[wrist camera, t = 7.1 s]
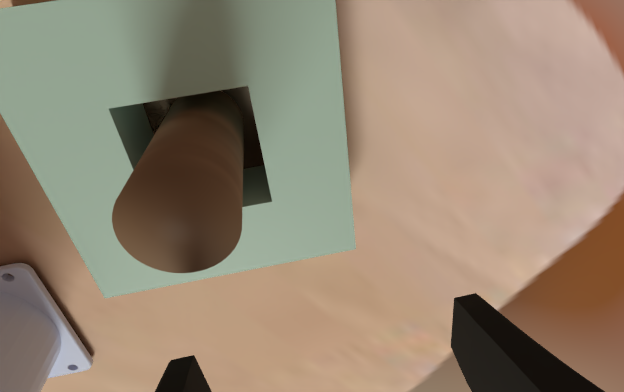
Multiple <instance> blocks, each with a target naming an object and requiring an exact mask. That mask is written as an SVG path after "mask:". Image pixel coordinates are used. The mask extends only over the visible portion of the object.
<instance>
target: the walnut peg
mask: <svg viewBox="0 0 624 392" xmlns="http://www.w3.org/2000/svg"><path fill="white" fill-rule="evenodd" d="M243 148H244V120H243V115H242V113H241V110H240V108H239V106H238V105H237V104H236V102H235V101H234V100H233V99H232V98H231V97H230V96H228V95H227V94H225V93H224V92H222V91H220V90H219V91H213V92H207V93H201V94H195V95H189V96H183V97H177V98H176V100H175V101H174V102H173V104H172V106H171V107H170V109H169V111H168V112H167V114H166V116H165V118H164V119H163V121H162V123H161V124H160V126H159V128H158V129H157V131H156V133H155V135H154V136H153V138H152V140H151V141H150V143H149V145H148V146H147V148H146V150H145V152H144V153H143V155H142V157H141V158H140V160H139V162H138V163H137V165H136V167H135V169H134V170H133V172H132V174H131V175H130V177H129V179H128V180H127V182H126V184H125V186H124V187H123V189H122V191H121V192H120V194H119V196H118V197H117V199H116V201H115V204H114V207H113V212H112V224H113V229H114V232H115V235H116V237H117V239H118V241H119V242H120V244H121V245H122V247H123V248H124V249H125V250H126V251H127V252H128V253H129V254H130V255H131V256H132V257H133V258H135V259H136V260H138V261H139V262H141V263H143V264H145V265H147V266H149V267H151V268H154V269H157V270H160V271H165V272H170V273H193V272H198V271H202V270H205V269H208V268H211V267H213V266H215V265H217V264H219V263H220V262H222V261H223V260H224V259H226V258H227V257H228V256H229V255H230V254H231V253H232V251H233V250H234V249H235V247H236V246H237V244H238V242H239V239H240V236H241V232H242V204H243Z"/></svg>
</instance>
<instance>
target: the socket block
mask: <svg viewBox="0 0 624 392" xmlns="http://www.w3.org/2000/svg"><path fill="white" fill-rule="evenodd" d="M244 86H248V88H249V93H250V98H251V103H252V107H253V112H254V117H255V122H256V127H257V131H258V136H259V141H260V146H261V150H262V155H263V160H264V165H262V166H257V167H251V168H246V169H243V204H242V232H241V236H240V239H239V242H238V244H237V246H236V247H235V249H234V250H233V251H232V253H231V254H230V255H229V256H228V257H227V258H226V259H224V260H223V261H222V262H220V263H219V264H217V265H215V266H213V267H211V268H208V269H205V270H202V271H198V272H193V273H170V272H165V271H160V270H157V269H154V268H151V267H149V266H147V265H145V264H143V263H141V262H139V261H138V260H136V259H135V258H133V257H132V256H131V255H130V254H129V253H128V252H127V251H126V250H125V249H124V248H123V247H122V245H121V244H120V242H119V241H118V239H117V237H116V235H115V232H114V229H113V224H112V212H113V207H114V204H115V201H116V199H117V197H118V196H119V194H120V192H121V191H122V189H123V187H124V186H125V184H126V182H127V180H128V179H129V177H130V175H131V174H132V172H133V170H134V169H135V167H136V165H137V163H138V162H139V160H140V158H141V157H142V155H143V153H144V152H145V150H146V148H147V146H148V145H149V143H150V141H151V140H152V138H153V136H154V134H153V131H152V128H151V126H150V123H149V120H148V117H147V115H146V112H145V109H144V106H143V104H142V103H146V102H152V101H158V100H164V99H171V98H177V97H183V96H189V95H195V94H201V93H207V92H213V91H219V90H226V89H232V88H238V87H244ZM0 114H1V115H2V117H3V119H4V121H5V123H6V124H7V126H8V128H9V130H10V131H11V133H12V135H13V137H14V138H15V140H16V142H17V144H18V146H19V147H20V149H21V151H22V153H23V154H24V156H25V158H26V160H27V161H28V163H29V165H30V167H31V169H32V170H33V172H34V174H35V176H36V177H37V179H38V181H39V183H40V185H41V186H42V188H43V190H44V192H45V193H46V195H47V197H48V199H49V200H50V202H51V204H52V206H53V208H54V209H55V211H56V213H57V215H58V216H59V218H60V220H61V222H62V223H63V225H64V227H65V229H66V231H67V232H68V234H69V236H70V238H71V239H72V241H73V243H74V245H75V246H76V248H77V250H78V252H79V254H80V255H81V257H82V259H83V261H84V262H85V264H86V266H87V268H88V270H89V271H90V273H91V275H92V277H93V278H94V280H95V282H96V284H97V285H98V287H99V289H100V291H101V293H102V294H103V296H104V298H109V297H114V296H120V295H125V294H130V293H135V292H140V291H145V290H150V289H155V288H160V287H165V286H170V285H176V284H181V283H186V282H191V281H196V280H201V279H206V278H211V277H216V276H221V275H226V274H231V273H237V272H242V271H247V270H252V269H257V268H262V267H267V266H272V265H277V264H282V263H287V262H293V261H298V260H303V259H308V258H313V257H318V256H323V255H328V254H333V253H338V252H343V251H349V250H354V249H356V245H355V233H354V220H353V208H352V196H351V184H350V172H349V160H348V147H347V135H346V123H345V111H344V99H343V87H342V74H341V62H340V50H339V38H338V26H337V14H336V2H335V0H56V1H49V2H42V3H35V4H28V5H21V6H15V7H8V8H1V9H0Z"/></svg>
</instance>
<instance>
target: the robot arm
mask: <svg viewBox="0 0 624 392" xmlns="http://www.w3.org/2000/svg"><path fill="white" fill-rule="evenodd" d="M7 273H8V274H11V275H13V276H10V275H8V274H7ZM451 348H452V350H453V352H454V355H455V357H456V359H457V361H458V363H459V366H460V368H461V370H462V373H463V375H464V377H465V379H466V381H467V383H468V385H469V387H470V389H471V391H472V392H605V391H603V390H602V389H600V388H598V387H597V386H596V385H594V384H593V383H592V382H590V381H589V380H587V379H586V378H584V377H583V376H581V375H580V374H579V373H577V372H576V371H574V370H573V369H572V368H570V367H569V366H567V365H566V364H565V363H563V362H562V361H561V360H559V359H558V358H557V357H555V356H554V355H553V354H551V353H550V352H549V351H547V350H546V349H545V348H543V347H542V346H541V345H540V344H538V343H537V342H536V341H534V340H533V339H532V338H530V337H529V336H528V335H527V334H525V333H524V332H523V331H522V330H520V329H519V328H518V327H517V326H515V325H514V324H513V323H511V322H510V321H509V320H508V319H507V318H505V317H504V316H503V315H502V314H501V313H499V312H498V311H497V310H496V309H494V308H493V307H492V306H491V305H490V304H488V303H487V302H486V301H485V300H484V299H482V298H481V297H480V296H479V295H477V294H476V293H475V294H471V295H466V296H461V297H457V298H454V309H453V323H452V337H451ZM92 363H93V359H92V357H91V356H90V354H89V353H88V351H87V350H86V348H85V347H84V345H83V344H82V342H81V341H80V339H79V338H78V336H77V335H76V333H75V332H74V330H73V329H72V327H71V325H70V324H69V322H68V321H67V319H66V318H65V316H64V315H63V313H62V312H61V310H60V309H59V307H58V306H57V304H56V303H55V301H54V300H53V298H52V297H51V295H50V294H49V292H48V291H47V289H46V288H45V286H44V285H43V283H42V282H41V280H40V279H39V277H38V276H37V274H36V273H35V271H34V270H33V268H32V267H31V266H29V265H27V264H24V263H15V264H10V265H4V266H0V392H41V390H42V388H43V386H44V384H45V382H46V380H47V378H51V377H56V376H61V375H66V374H71V373H75V372H80V371H85V370H88V369H90V368H91V366H92ZM155 392H211V390H210V387H209V385H208V383H207V381H206V379H205V377H204V375H203V373H202V371H201V369H200V367H199V365H198V362H197V360H196V358H195V356H194V355H193V356H188V357H183V358H179V359H174V360H171V361H170V362H169V364H168V366H167V368H166V370H165V372H164V374H163V376H162V378H161V380H160V382H159V384H158V386H157V389H156V391H155Z"/></svg>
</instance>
